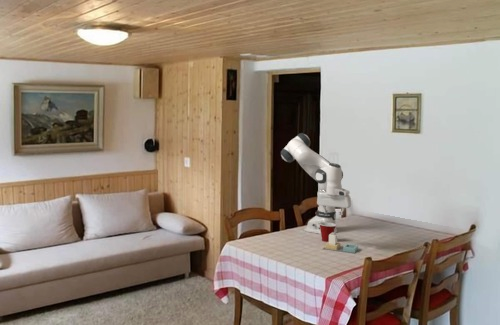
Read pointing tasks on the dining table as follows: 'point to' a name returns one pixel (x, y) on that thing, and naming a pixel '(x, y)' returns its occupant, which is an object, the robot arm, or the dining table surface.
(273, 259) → the dining table surface
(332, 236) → the plug
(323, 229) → the plastic cup
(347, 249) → the panel
